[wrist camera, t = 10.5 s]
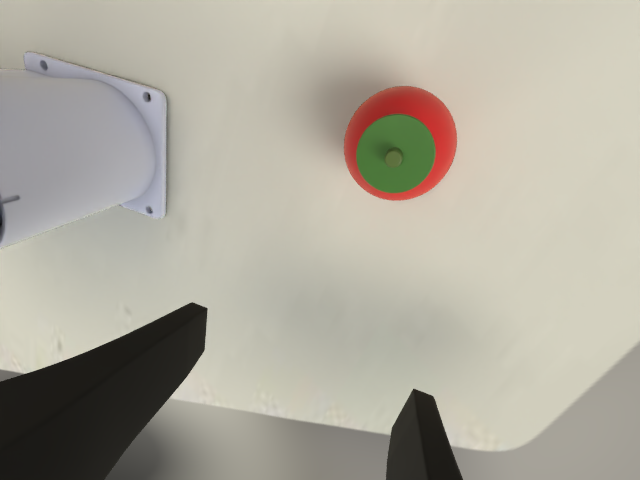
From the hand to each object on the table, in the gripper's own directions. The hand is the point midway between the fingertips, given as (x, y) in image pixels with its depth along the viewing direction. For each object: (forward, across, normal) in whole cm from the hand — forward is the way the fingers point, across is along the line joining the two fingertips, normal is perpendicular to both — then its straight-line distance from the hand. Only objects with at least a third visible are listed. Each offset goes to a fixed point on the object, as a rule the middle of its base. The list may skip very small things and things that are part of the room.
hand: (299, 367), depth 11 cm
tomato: (+9, -1, -7) cm, 12 cm away
